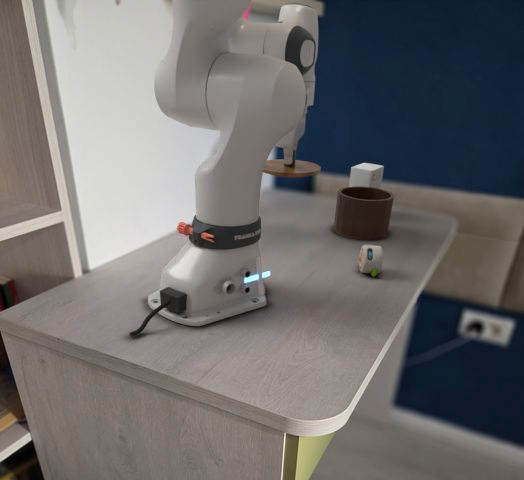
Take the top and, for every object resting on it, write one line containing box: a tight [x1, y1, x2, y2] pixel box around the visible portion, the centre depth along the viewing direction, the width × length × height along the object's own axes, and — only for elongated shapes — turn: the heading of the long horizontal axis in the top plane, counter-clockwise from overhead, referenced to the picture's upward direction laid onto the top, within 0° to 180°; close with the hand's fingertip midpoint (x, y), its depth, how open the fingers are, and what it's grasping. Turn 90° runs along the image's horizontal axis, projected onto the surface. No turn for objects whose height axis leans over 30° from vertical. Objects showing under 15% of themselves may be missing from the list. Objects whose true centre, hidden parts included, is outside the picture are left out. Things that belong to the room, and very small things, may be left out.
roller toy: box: [358, 244, 384, 277], centre depth 103 cm, size 4×6×6 cm
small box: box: [348, 162, 385, 189], centre depth 137 cm, size 8×6×13 cm
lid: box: [263, 149, 322, 179], centre depth 115 cm, size 15×15×5 cm
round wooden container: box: [333, 186, 395, 241], centre depth 125 cm, size 14×14×10 cm
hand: (289, 161), depth 115 cm, fingers closed on lid, 2 cm apart
